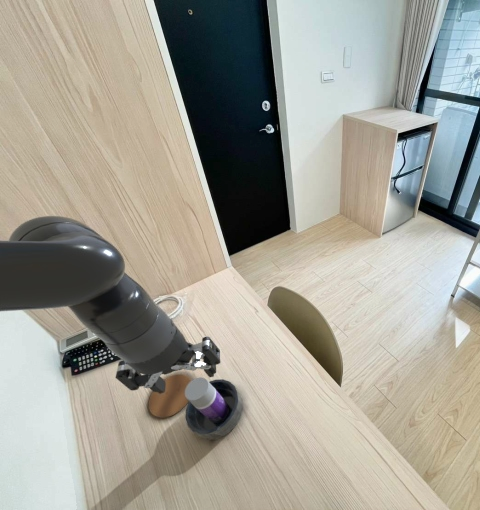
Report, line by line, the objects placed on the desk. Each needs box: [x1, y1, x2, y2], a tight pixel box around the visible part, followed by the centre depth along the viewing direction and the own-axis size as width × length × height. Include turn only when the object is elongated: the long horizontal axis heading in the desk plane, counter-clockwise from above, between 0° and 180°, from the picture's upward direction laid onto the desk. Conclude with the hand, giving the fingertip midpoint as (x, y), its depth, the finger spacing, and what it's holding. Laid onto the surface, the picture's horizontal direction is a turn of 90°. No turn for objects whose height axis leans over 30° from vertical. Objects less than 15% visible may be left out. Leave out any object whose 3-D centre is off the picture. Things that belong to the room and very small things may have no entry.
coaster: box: [148, 373, 192, 419], centre depth 67 cm, size 10×10×1 cm
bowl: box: [184, 378, 244, 441], centre depth 63 cm, size 11×11×6 cm
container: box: [185, 377, 229, 423], centre depth 59 cm, size 5×5×15 cm
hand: (188, 379), depth 51 cm, fingers open, 8 cm apart
